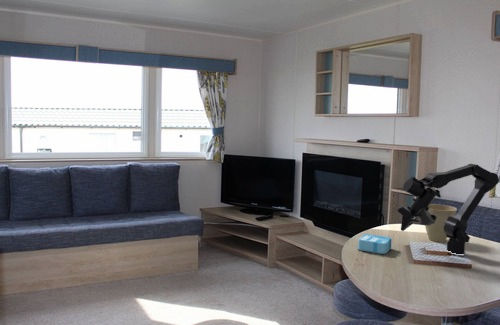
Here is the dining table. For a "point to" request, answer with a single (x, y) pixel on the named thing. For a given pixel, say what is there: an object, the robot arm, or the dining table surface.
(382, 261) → the dining table surface
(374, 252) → the gray flat panel
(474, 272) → the dining table surface
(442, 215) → the plant pot
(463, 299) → the dining table surface
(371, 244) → the data package
